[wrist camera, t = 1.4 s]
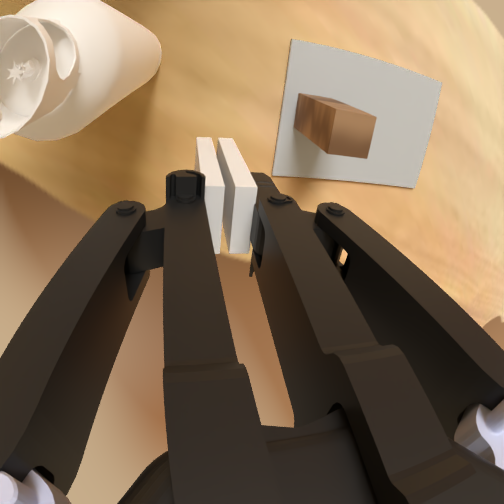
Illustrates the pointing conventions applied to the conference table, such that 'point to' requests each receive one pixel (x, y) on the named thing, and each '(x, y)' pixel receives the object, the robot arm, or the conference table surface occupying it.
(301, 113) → the walnut block
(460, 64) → the conference table surface
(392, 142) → the felt mat
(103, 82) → the bottle
